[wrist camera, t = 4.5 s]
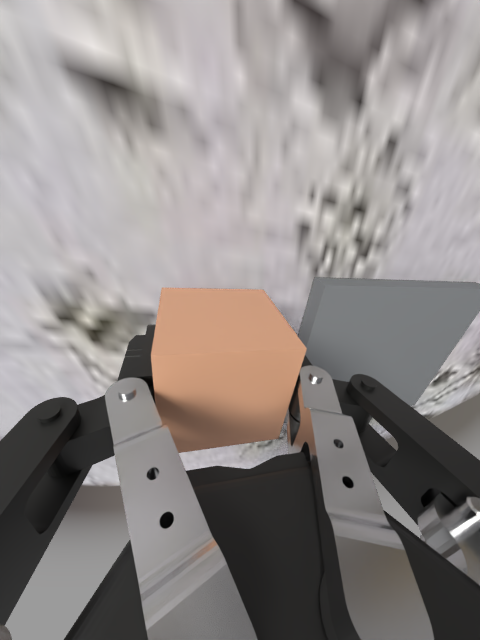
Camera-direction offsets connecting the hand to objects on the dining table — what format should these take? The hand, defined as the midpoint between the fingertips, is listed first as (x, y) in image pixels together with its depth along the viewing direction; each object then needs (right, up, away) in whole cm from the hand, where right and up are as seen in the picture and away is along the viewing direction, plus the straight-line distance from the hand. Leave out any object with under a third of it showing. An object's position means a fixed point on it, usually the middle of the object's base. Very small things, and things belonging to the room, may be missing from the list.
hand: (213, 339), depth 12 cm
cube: (0, 0, +1) cm, 1 cm away
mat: (+14, -2, +10) cm, 17 cm away
